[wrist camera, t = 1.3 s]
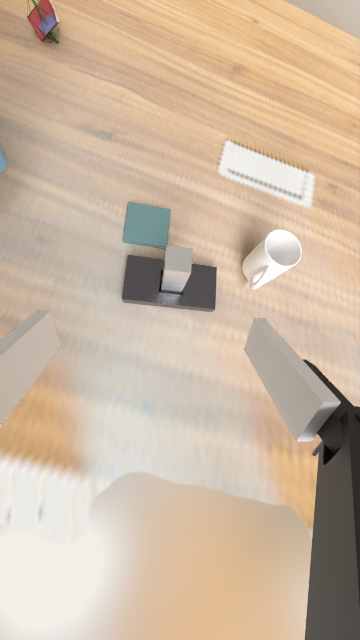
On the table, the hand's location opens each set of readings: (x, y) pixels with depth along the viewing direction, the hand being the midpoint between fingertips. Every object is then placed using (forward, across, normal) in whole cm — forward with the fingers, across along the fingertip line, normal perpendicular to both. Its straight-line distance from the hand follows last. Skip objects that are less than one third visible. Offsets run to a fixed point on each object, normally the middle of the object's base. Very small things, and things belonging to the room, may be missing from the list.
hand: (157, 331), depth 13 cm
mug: (+35, +23, -6) cm, 42 cm away
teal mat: (+41, -4, +3) cm, 41 cm away
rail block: (+31, +2, -8) cm, 33 cm away
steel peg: (+31, +2, -8) cm, 33 cm away
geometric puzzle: (+75, -32, +44) cm, 93 cm away
